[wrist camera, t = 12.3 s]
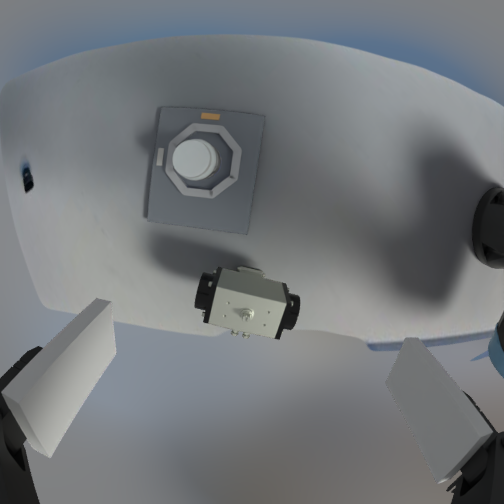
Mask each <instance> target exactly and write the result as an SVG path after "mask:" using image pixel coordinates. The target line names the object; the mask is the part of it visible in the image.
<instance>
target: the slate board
mask: <svg viewBox="0 0 504 504" xmlns="http://www.w3.org/2000/svg"><path fill="white" fill-rule="evenodd" d="M264 120H265V116H263V115H256V114H249V113H241V112H232V111H222V110H211V109H197V108H179V107H161V113H160V118H159V124H158V130H157V137H156V144H155V151H154V158H153V166H152V175H151V184H150V194H149V205H148V218H147V221H149V222H156V223H164V224H172V225H180V226H187V227H195V228H202V229H209V230H217V231H224V232H231V233H238V234H245V235H247V234H248V227H249V220H250V213H251V207H252V200H253V193H254V186H255V180H256V173H257V166H258V160H259V153H260V146H261V140H262V133H263V127H264ZM191 139H202V140H205V141H207V142H208V143H209V144H211V145H212V146H214V147H215V148H216V149H217V150H218V151H219V153H220V155H221V159H222V163H221V167H220V170H219V171H218V173H217V174H216V175H215V176H213V177H211V178H209V179H204V180H197V181H194V180H189V179H186V178H184V177H183V176H181V175H180V174H179V173H178V172H177V171H176V170H175V168H174V166H173V162H172V157H173V153H174V151H175V149H176V147H177V146H178V145H179V144H181V143H182V142H184V141H187V140H191Z"/></svg>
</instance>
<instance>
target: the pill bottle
mask: <svg viewBox="0 0 504 504" xmlns="http://www.w3.org/2000/svg"><path fill="white" fill-rule="evenodd" d="M172 162H173V166H174V168H175V170H176V171H177V172H178V173H179V174H180V175H181V176H183V177H184V178H186V179H189V180H194V181H197V180H204V179H209V178H211V177H213V176H215V175H216V174H217V173H218V171H219V170H220V167H221V163H222V159H221V155H220V153H219V151H218V150H217V149H216V148H215V147H214V146H212V145H211V144H209V143H208V142H207V141H205V140H202V139H191V140H187V141H184V142H182V143H181V144H179V145H178V146H177V147H176V149H175V151H174V153H173V157H172Z"/></svg>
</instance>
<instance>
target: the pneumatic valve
mask: <svg viewBox="0 0 504 504" xmlns="http://www.w3.org/2000/svg"><path fill="white" fill-rule="evenodd" d="M237 271H238V272H237ZM237 271H233V270H229V269H225V268H223V269H222V268H221V267H218V268H217V270H214V272H213V274H214V275H212V274H208V273H205V272H204V273H203V274H202V276H201V279H200V282H199V286H198V289H197V294H196V298H195V305H194V307H195V308H197V309H201V310H205V312H203V313H202V316H203V317H204V320H203V322H204V323H208V324H212V325H216V326H220V327H224V328H228V329H232V331H231V334H232V335H233V336H237V335H238V332H239V331H241V332H243V335H242V336H243V338H246V339H248V338H249V337H250V334H255V335H259V336H264V337H269V338H274V339H280V337H281V334H282V333H283V329H287V330H292V329H293V327H294V326H295V324H296V321H297V318H298V315H299V310H300V297H299V296H298V295H295V294H291V293H289V288H287V285H286V283H282V282H278V281H273V280H269V279H265V278H263V277H265V274H264V273H263V272H262V271H259V270H255V269H251V268H247V267H243V266H240V267H238V268H237Z"/></svg>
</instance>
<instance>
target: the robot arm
mask: <svg viewBox="0 0 504 504" xmlns="http://www.w3.org/2000/svg"><path fill="white" fill-rule="evenodd" d="M473 245H474V249H475V253H476V255H477V257H478V259H479V260H480V261H481V262H482V263H483V264H485V265H487V266H489V267H491V268H495V269H504V189H503V188H493V189H491V190H489V191H488V192H487V193H486V194H485V195H484V196H483V197H482V199H481V201H480V203H479V205H478V207H477V210H476V213H475V217H474V222H473ZM488 352H489V357H490V359H491V362H492V364H493V365H494V367H495V368H496V370H497V371H498V372H499V374H500V375H501V376H502V377H503V378H504V312H503V314H502V316H501V318H500V320H499V322H498V323H497V324H496V327H495V331H494V334H493V336H492V338H491V340H490V342H489V346H488ZM115 355H116V345H115V337H114V326H113V315H112V302H111V301H106V300H102V299H98V298H96V299H95V300H94V301H93V302H92V303H91V304H90V305H89V306H87V307H86V308H85V309H84V310H83V311H82V312H81V313H80V314H79V315H78V316H77V317H75V319H73V320H72V321H71V322H70V323H69V324H68V325H67V326H66V327H65V328H64V329H63V330H62V331H61V332H60V333H58V335H57V336H55V337H54V338H53V339H52V340H51V341H50V342H49V343H48V344H47V345H46V346H45V347H44V348H42V347H39V346H38V347H36V348H34V349H31V350H29V351H27V352H26V353H25V354H24V355H23V356H22V357H21V358H20V360H19V361H17V362H16V363H15V364H14V365H13V367H11V368H10V369H9V370H8V371H7V372H6V373H5V374H4V375H3V376H2V377H1V378H0V504H40V503H39V500H38V496H37V493H36V490H35V487H34V483H33V480H32V476H31V472H30V468H29V464H28V459H27V455H26V450H25V448H24V445H23V443H24V442H25V440H26V439H27V440H28V442H29V443H30V445H31V446H32V448H33V449H35V450H37V451H38V452H40V453H42V454H43V455H45V456H47V457H49V458H50V457H51V456H52V454H53V452H54V451H55V449H56V447H57V446H58V444H59V442H60V440H61V439H62V437H63V435H64V434H65V432H66V430H67V429H68V427H69V426H70V424H71V422H72V421H73V419H74V417H75V416H76V414H77V413H78V411H79V409H80V408H81V406H82V404H83V403H84V402H85V400H86V398H87V397H88V395H89V394H90V392H91V391H92V389H93V388H94V386H95V385H96V383H97V381H98V380H99V379H100V377H101V375H102V374H103V372H104V371H105V369H106V368H107V367H108V365H109V364H110V362H111V361H112V359H113V358H114V356H115ZM385 384H386V386H387V387H388V389H389V391H390V393H391V394H392V396H393V398H394V400H395V402H396V404H397V405H398V407H399V409H400V411H401V413H402V415H403V417H404V419H405V421H406V423H407V425H408V426H409V428H410V430H411V432H412V434H413V436H414V438H415V440H416V442H417V444H418V446H419V448H420V450H421V452H422V454H423V456H424V458H425V460H426V462H427V464H428V466H429V469H430V470H431V473H432V475H433V477H434V479H435V481H436V483H437V484H438V483H441V482H444V481H446V480H449V479H451V478H452V477H453V476H454V475H455V474H456V473H457V472H458V471H459V470H461V472H462V475H461V476H460V477H459V478H457V480H456V481H454V482H453V483H452V484H451V485H450V486H449V487H448V489H447V490H446V491H449V490H451V489H452V488H453V487H454V486H456V488H455V489H454V490H453V491H452V493H454V495H453V499H452V502H451V504H504V432H501V433H499V434H498V432H497V431H496V430H495V429H494V427H493V426H492V425H491V423H490V422H489V420H488V419H487V418H486V416H485V415H484V414H483V412H480V408H479V407H478V406H476V403H475V402H474V401H473V399H472V398H471V397H470V396H469V395H468V394H466V393H465V392H464V391H462V390H461V389H460V387H459V386H458V385H457V384H456V382H455V381H454V380H453V379H452V377H450V375H449V374H448V373H447V371H446V370H445V369H444V368H443V366H442V365H441V364H440V363H439V362H438V361H437V360H436V358H435V357H434V356H433V355H432V353H431V352H430V351H429V350H428V349H427V348H426V347H425V345H424V344H423V343H422V342H421V341H420V340H419V338H405V340H404V343H403V345H402V347H401V350H400V352H399V354H398V357H397V359H396V361H395V363H394V366H393V368H392V370H391V372H390V374H389V376H388V378H387V380H386V382H385Z"/></svg>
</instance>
